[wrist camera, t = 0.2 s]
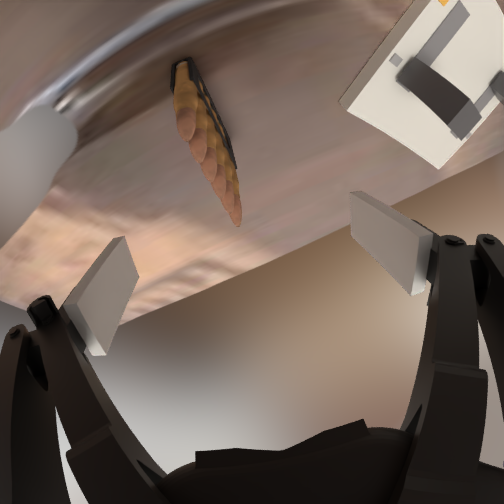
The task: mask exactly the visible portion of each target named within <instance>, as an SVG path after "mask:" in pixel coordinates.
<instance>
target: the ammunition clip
mask: <svg viewBox="0 0 504 504" xmlns="http://www.w3.org/2000/svg"><path fill="white" fill-rule="evenodd" d="M170 89H171V91H172V92H173V94H174V102H173V104H174V110H175V112H176V121H177V128H178V131H179V134H180V136H181V137H182V139H183V140H184V141H186V142H188V141H189V147H190V151H191V153H192V155H193V157H194V159H195V160H196V161H197V162H198V163H200V165H201V168H202V171H203V173H204V175H205V177H206V178H207V180H208V181H210V182H211V185H212V187H213V190H214V191H215V193H216V195H217V196H218V197H219V198H220V200H221V202H222V204H223V206H224V208H225V210H226V211H227V212H228V213H229V215H230V217H231V219H232V221H233V223H234V224H235V225H236V226H237V227H239V226H240V224H241V219H242V209H241V202H240V195H239V182H238V178H237V174H236V170H235V169H237V165H236V161H235V157H234V153H233V149H232V145H231V141H230V138H229V136H228V134H227V132H226V130H225V127H224V125H223V123H222V121H221V119H220V117H219V114H218V112H217V110H216V108H215V106H214V104H213V102H212V99H211V97H210V95H209V93H208V91H207V89H206V87H205V85H204V82H203V80H202V78H201V76H200V74H199V72H198V70H197V68H196V66H195V64H194V62H193V60H192V58H191V57H188V58H186V59H184V60H181V61H179V62H177V63H175V64H173V65H172V69H171V84H170Z"/></svg>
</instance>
